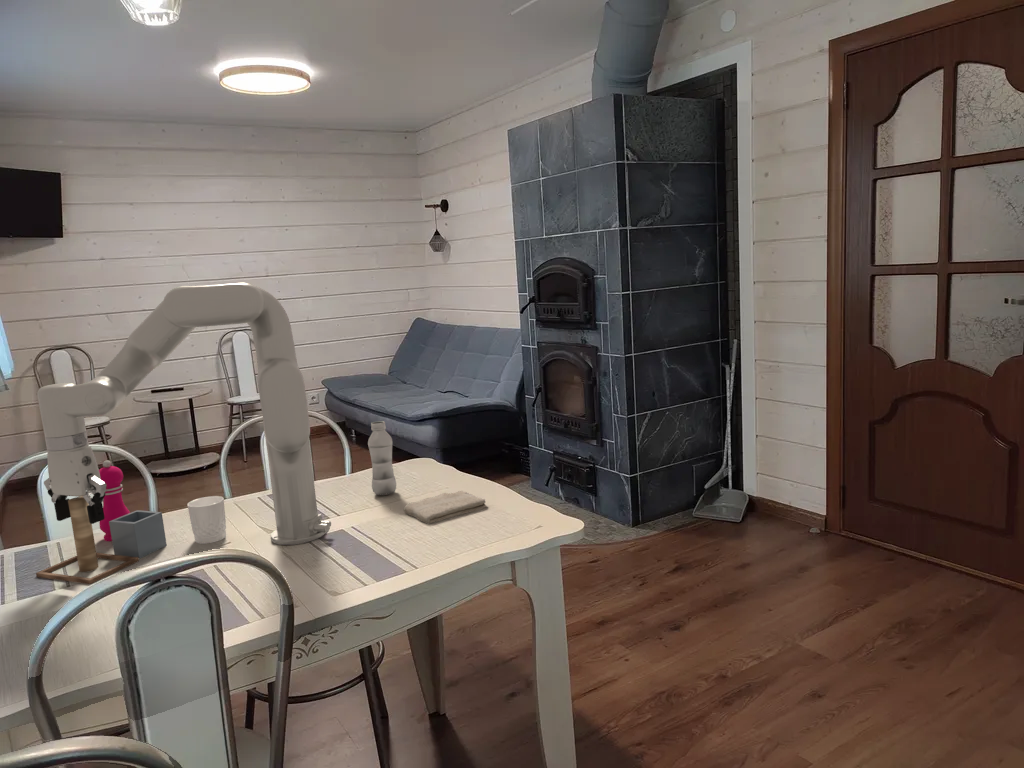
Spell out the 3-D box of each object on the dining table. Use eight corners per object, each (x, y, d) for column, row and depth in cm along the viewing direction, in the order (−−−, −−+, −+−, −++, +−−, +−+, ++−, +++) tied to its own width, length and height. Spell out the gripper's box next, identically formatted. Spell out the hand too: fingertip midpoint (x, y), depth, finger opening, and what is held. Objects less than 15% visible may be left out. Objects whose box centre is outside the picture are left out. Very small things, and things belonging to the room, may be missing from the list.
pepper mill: (128, 532, 184) (115, 455, 181) (141, 538, 180) (128, 458, 176) (97, 542, 179) (84, 462, 175) (110, 548, 174) (96, 466, 171)
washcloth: (489, 508, 185) (488, 496, 185) (427, 527, 175) (426, 514, 174) (463, 498, 195) (463, 487, 194) (403, 515, 184) (402, 503, 184)
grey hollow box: (167, 549, 170) (161, 512, 169) (140, 562, 163) (133, 523, 162) (142, 546, 173) (137, 510, 172) (115, 559, 166) (108, 521, 165)
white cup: (185, 547, 171) (179, 506, 170) (210, 534, 178) (204, 495, 177) (212, 549, 168) (206, 507, 167) (236, 537, 176) (230, 496, 174)
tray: (139, 565, 162) (138, 557, 162) (91, 588, 151) (89, 580, 151) (87, 558, 168) (86, 551, 168) (37, 581, 157) (35, 573, 157)
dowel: (102, 567, 160) (91, 496, 158) (87, 574, 157) (76, 502, 155) (90, 566, 162) (79, 495, 159) (75, 572, 158) (64, 501, 156)
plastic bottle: (376, 490, 205) (369, 420, 202) (400, 490, 204) (393, 419, 201) (369, 498, 199) (361, 425, 195) (393, 497, 198) (386, 424, 194)
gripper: (112, 438, 155) (125, 516, 158) (55, 437, 161) (68, 511, 164) (80, 448, 148) (94, 529, 151) (21, 445, 155) (36, 523, 157)
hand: (80, 520), depth 158 cm, fingers open, 9 cm apart
